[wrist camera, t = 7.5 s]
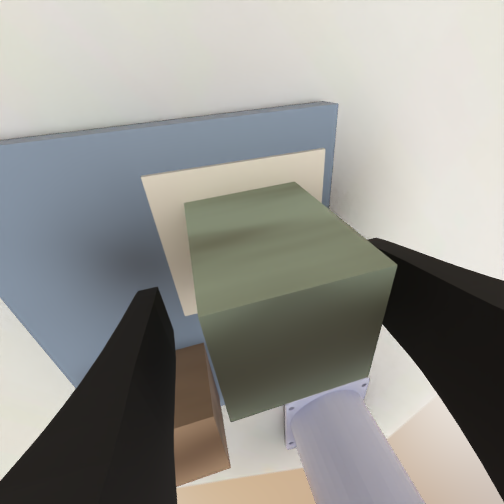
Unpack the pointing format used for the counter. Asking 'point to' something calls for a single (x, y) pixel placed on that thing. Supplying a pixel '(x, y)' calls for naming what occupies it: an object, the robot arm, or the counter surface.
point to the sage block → (284, 295)
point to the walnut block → (197, 418)
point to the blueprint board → (135, 215)
